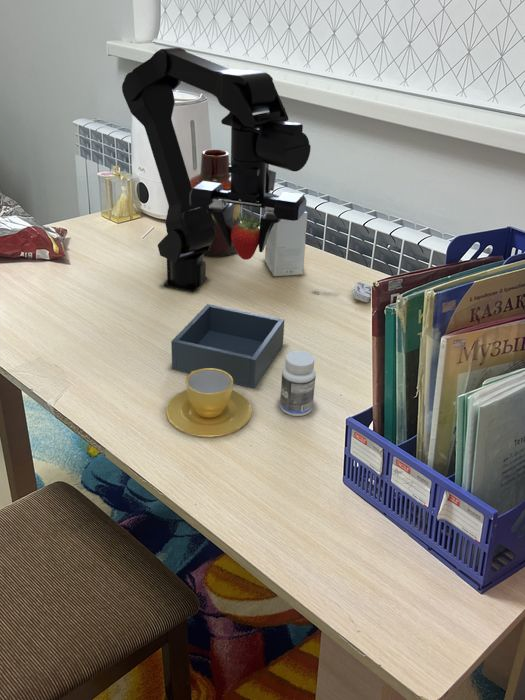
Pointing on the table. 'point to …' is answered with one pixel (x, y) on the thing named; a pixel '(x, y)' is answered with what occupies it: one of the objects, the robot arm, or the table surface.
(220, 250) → the vase
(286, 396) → the pill bottle
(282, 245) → the small box
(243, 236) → the fruit
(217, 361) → the box
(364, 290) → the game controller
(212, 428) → the cup
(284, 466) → the table surface
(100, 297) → the table surface
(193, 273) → the robot arm
